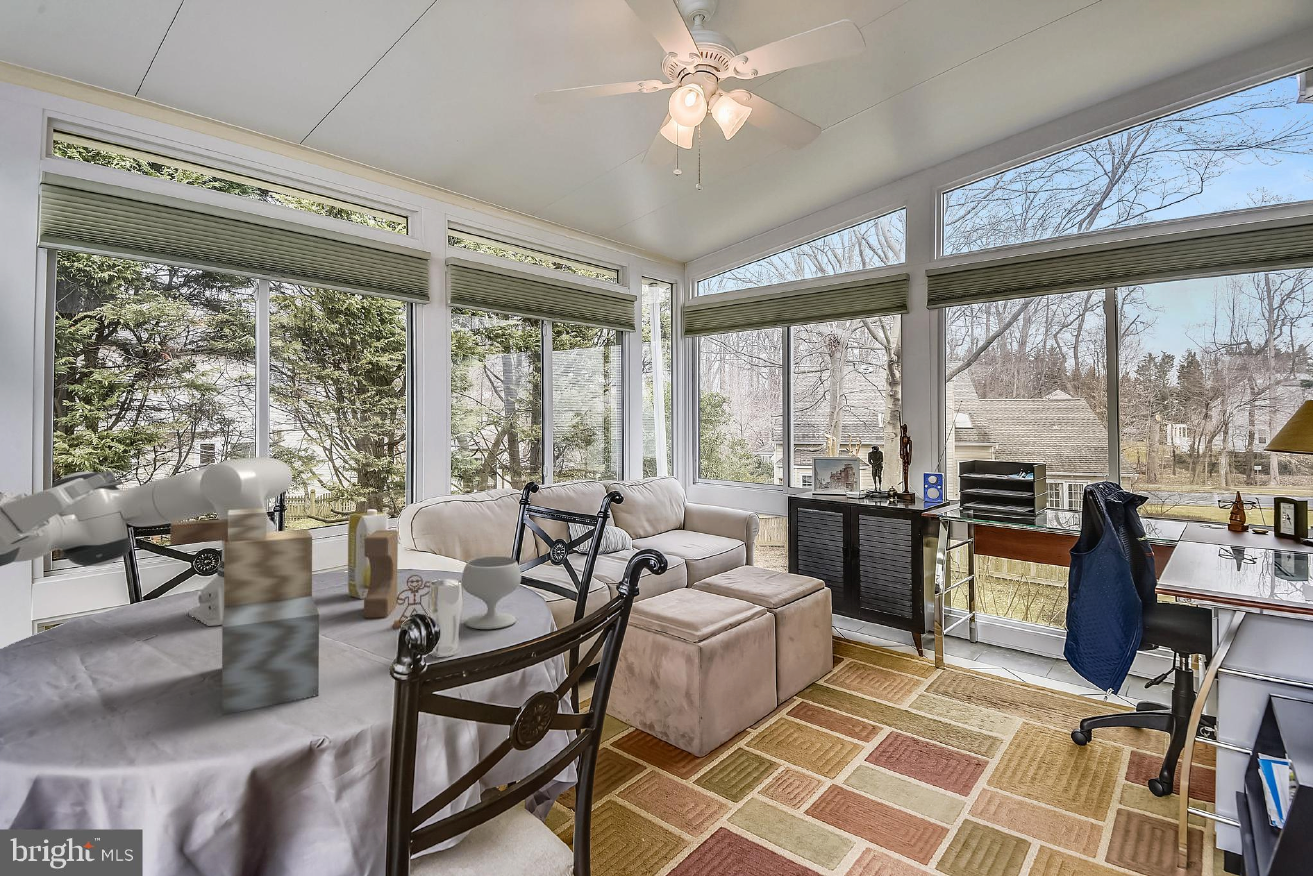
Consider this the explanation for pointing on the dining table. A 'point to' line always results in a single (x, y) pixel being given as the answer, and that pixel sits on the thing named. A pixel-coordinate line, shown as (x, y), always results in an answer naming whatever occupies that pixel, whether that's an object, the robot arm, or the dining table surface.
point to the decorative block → (381, 573)
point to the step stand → (269, 622)
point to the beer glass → (446, 613)
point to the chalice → (491, 588)
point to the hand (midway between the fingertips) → (108, 475)
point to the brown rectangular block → (222, 528)
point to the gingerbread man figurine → (399, 622)
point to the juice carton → (361, 549)
